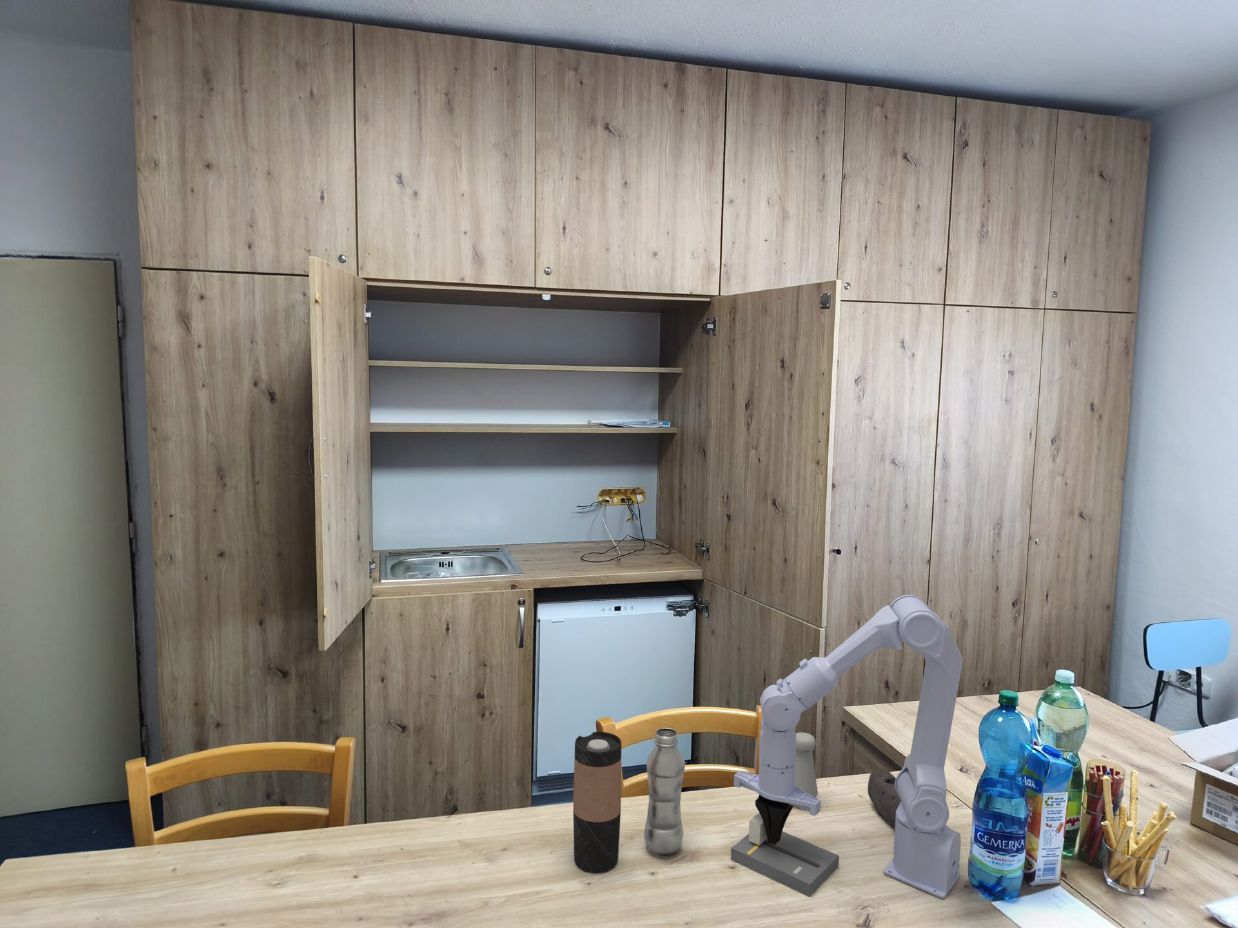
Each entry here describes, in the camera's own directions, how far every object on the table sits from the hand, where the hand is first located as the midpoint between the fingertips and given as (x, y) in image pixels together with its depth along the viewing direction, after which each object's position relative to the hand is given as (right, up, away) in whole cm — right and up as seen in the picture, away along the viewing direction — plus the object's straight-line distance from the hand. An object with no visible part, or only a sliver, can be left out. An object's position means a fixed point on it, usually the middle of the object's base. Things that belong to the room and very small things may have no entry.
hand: (774, 840), depth 127 cm
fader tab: (-2, 0, +2) cm, 3 cm away
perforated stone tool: (+24, -3, +11) cm, 27 cm away
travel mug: (-29, -3, -1) cm, 29 cm away
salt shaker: (+9, -2, +18) cm, 20 cm away
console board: (+1, -3, -1) cm, 4 cm away
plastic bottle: (-18, -3, +2) cm, 18 cm away
